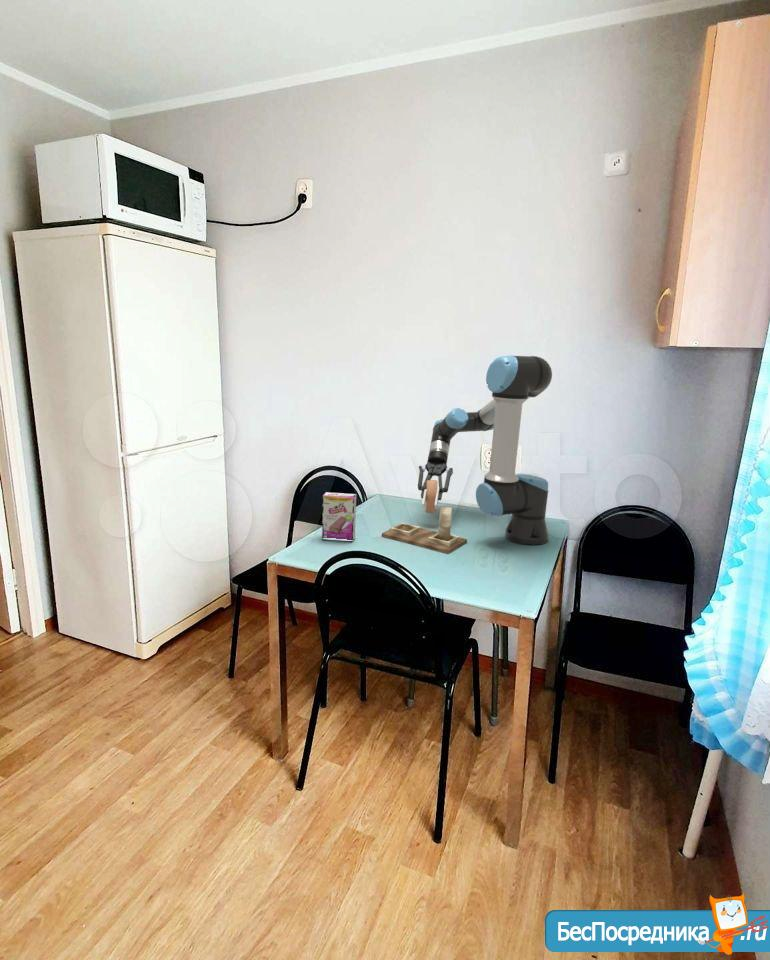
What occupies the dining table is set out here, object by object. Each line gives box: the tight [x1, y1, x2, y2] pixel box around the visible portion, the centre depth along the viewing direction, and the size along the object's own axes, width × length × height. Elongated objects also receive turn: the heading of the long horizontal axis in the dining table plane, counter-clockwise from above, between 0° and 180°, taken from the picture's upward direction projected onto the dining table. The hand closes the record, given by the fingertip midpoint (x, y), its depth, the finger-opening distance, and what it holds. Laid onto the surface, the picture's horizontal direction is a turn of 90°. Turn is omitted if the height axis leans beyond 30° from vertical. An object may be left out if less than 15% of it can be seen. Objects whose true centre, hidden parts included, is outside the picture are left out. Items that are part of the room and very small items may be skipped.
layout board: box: [381, 506, 468, 555], centre depth 198 cm, size 27×14×13 cm, turn 56°
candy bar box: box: [321, 491, 357, 541], centre depth 195 cm, size 11×5×16 cm, turn 84°
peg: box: [425, 479, 439, 514], centre depth 211 cm, size 4×4×12 cm
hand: (429, 506), depth 208 cm, fingers closed on peg, 4 cm apart
